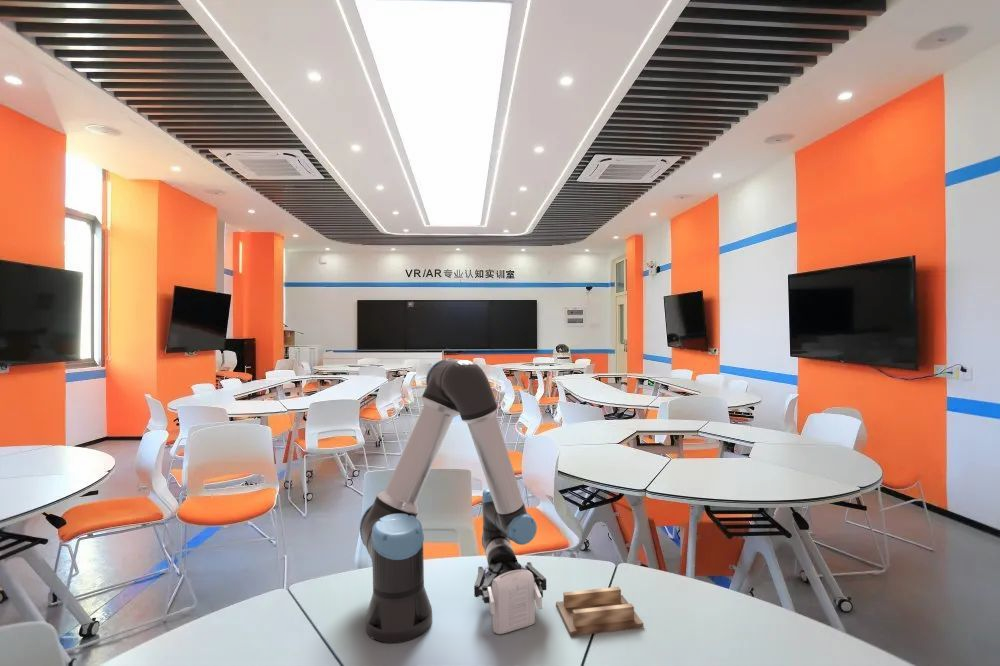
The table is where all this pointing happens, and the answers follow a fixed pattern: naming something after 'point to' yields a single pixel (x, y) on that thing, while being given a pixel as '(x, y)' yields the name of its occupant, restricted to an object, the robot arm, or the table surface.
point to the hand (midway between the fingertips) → (516, 605)
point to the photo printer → (513, 601)
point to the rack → (597, 611)
